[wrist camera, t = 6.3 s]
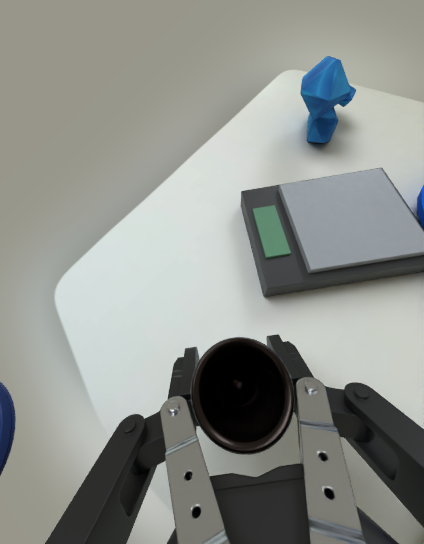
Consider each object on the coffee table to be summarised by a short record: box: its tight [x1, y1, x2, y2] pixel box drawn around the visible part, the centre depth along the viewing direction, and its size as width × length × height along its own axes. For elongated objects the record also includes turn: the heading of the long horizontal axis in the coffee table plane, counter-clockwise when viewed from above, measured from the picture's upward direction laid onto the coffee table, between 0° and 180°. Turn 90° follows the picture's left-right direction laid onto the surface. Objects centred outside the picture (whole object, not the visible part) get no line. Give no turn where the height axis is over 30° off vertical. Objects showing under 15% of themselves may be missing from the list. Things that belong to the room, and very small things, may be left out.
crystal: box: [301, 56, 356, 143], centre depth 28 cm, size 7×9×12 cm
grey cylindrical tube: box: [191, 337, 295, 455], centre depth 14 cm, size 4×4×10 cm
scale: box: [241, 168, 424, 297], centre depth 23 cm, size 16×12×3 cm
